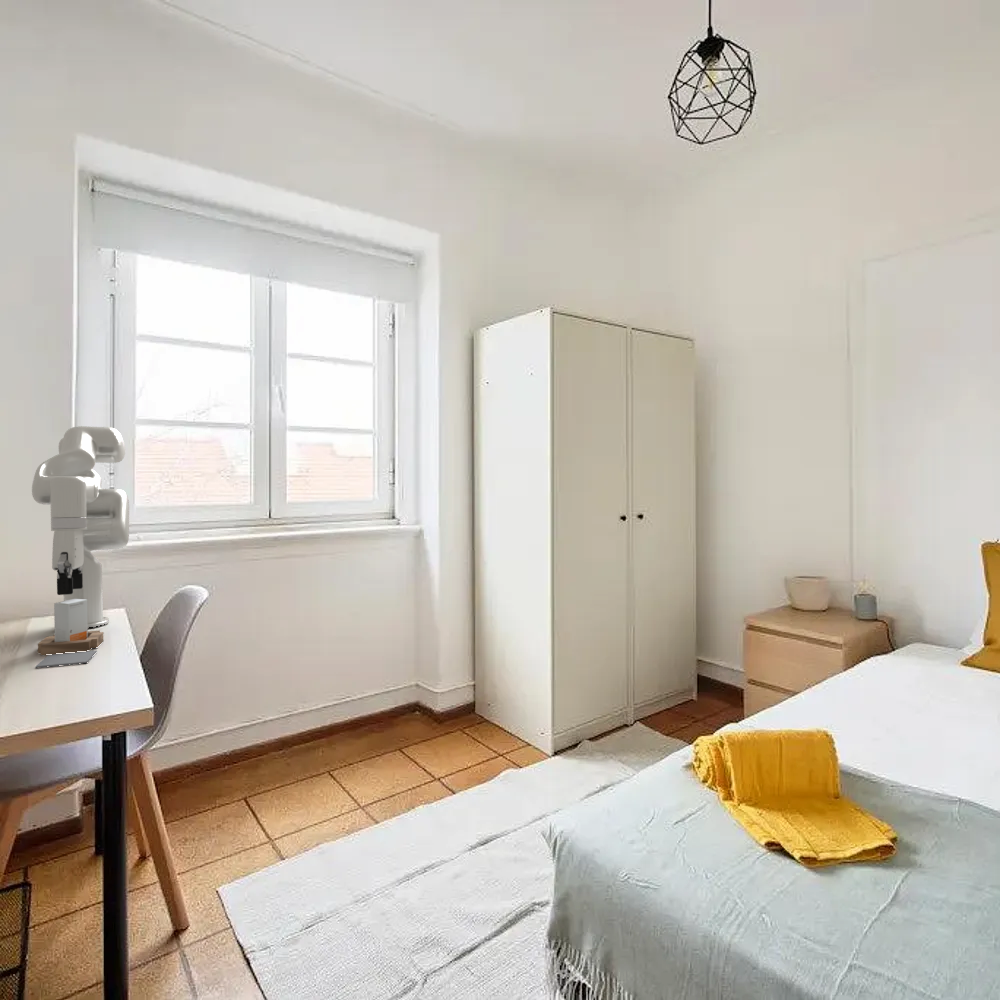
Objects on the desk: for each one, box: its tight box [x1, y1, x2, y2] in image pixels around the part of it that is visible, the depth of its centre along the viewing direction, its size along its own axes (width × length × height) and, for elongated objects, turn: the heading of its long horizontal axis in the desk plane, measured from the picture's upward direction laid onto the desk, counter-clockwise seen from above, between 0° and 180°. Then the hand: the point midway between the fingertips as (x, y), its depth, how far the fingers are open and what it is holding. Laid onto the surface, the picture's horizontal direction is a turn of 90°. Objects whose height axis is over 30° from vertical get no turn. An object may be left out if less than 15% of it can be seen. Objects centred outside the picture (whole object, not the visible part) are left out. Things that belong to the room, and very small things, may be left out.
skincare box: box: [53, 599, 89, 642], centre depth 158 cm, size 6×4×12 cm
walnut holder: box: [37, 630, 104, 656], centre depth 159 cm, size 12×12×2 cm
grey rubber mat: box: [35, 650, 98, 669], centre depth 147 cm, size 10×10×1 cm
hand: (70, 591), depth 158 cm, fingers open, 9 cm apart
